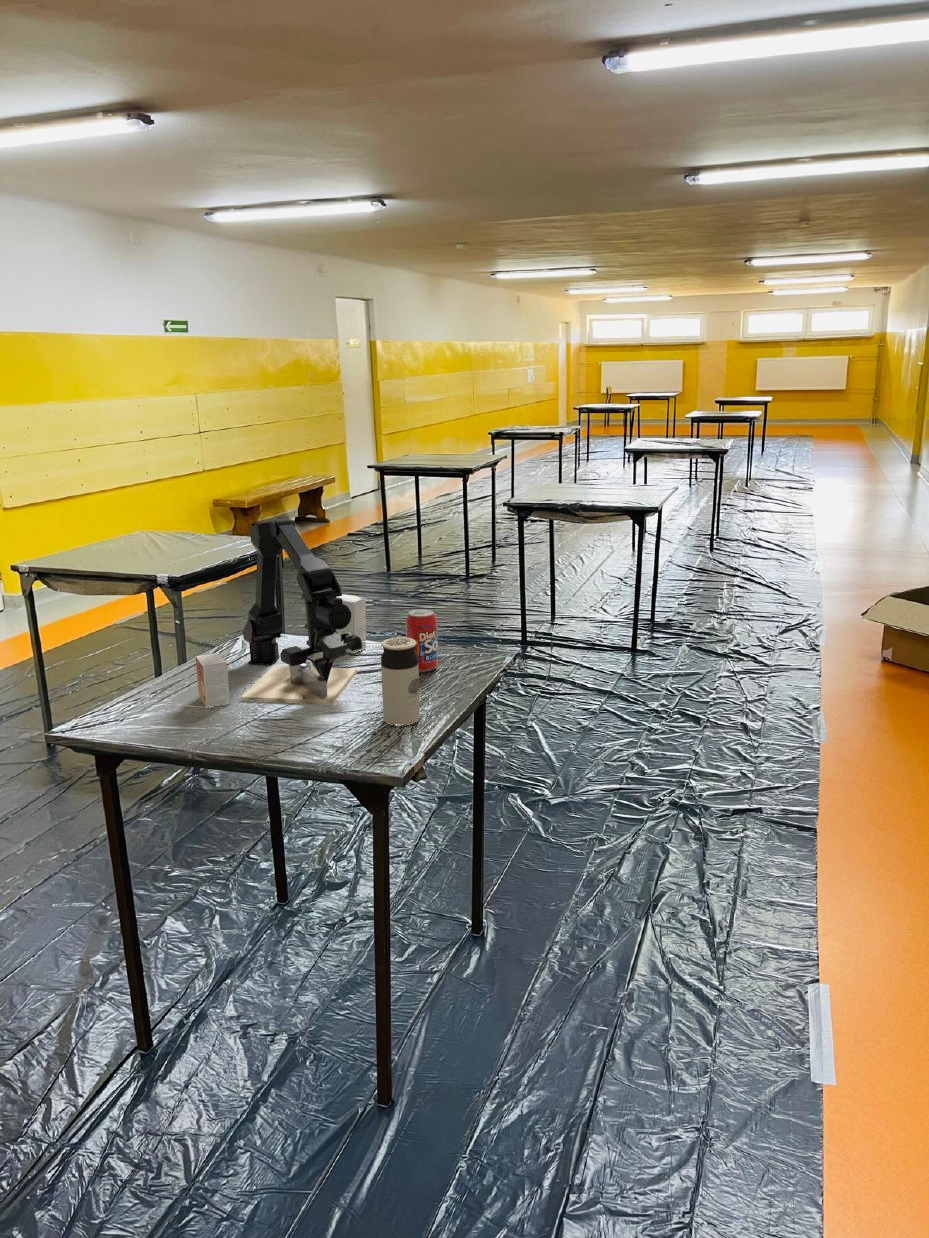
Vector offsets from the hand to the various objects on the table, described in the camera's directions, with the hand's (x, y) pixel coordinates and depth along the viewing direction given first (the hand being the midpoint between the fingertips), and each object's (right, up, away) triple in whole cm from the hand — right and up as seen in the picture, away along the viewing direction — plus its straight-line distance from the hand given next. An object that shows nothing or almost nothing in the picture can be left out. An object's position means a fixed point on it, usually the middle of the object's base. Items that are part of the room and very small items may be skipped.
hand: (325, 683), depth 205 cm
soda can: (+22, +2, +19) cm, 29 cm away
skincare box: (+1, +7, +35) cm, 35 cm away
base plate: (-7, -1, +8) cm, 11 cm away
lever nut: (-5, -1, +4) cm, 6 cm away
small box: (-26, -4, -1) cm, 26 cm away
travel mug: (+19, -7, -13) cm, 24 cm away
